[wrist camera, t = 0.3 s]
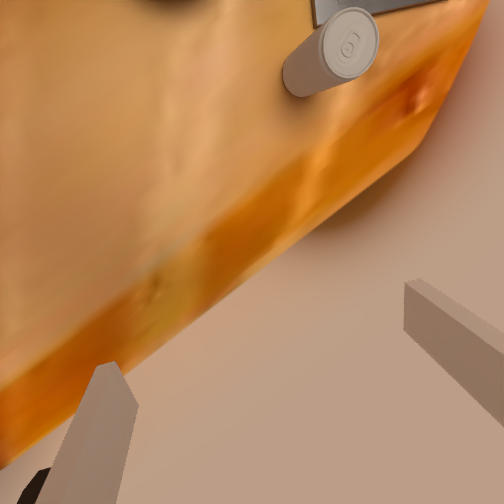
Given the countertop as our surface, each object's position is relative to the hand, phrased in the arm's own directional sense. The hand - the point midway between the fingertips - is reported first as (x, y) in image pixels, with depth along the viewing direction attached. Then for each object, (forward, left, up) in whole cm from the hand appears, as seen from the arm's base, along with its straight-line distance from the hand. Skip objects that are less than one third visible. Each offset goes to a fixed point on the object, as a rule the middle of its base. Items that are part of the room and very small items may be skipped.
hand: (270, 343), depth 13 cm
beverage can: (-13, +12, -27) cm, 32 cm away
